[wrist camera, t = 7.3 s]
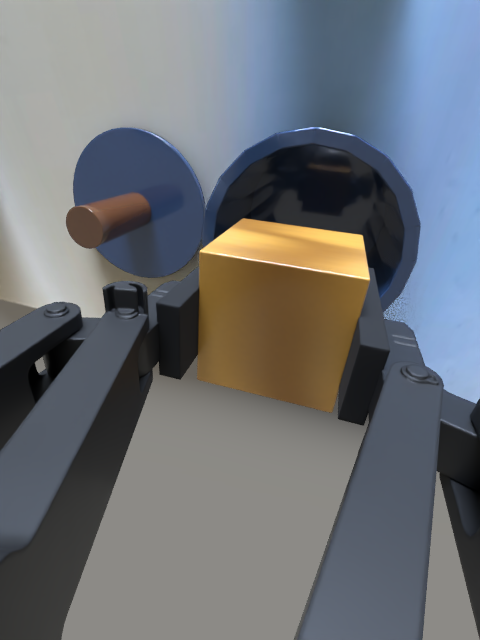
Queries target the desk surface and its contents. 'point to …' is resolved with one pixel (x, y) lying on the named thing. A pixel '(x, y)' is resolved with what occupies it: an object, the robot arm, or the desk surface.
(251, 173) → the blue paneled pot
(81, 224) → the lid
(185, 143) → the desk surface
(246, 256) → the block
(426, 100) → the desk surface
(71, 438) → the robot arm
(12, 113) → the desk surface
